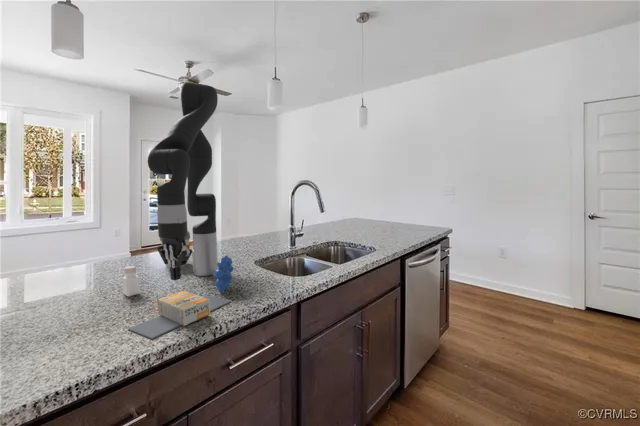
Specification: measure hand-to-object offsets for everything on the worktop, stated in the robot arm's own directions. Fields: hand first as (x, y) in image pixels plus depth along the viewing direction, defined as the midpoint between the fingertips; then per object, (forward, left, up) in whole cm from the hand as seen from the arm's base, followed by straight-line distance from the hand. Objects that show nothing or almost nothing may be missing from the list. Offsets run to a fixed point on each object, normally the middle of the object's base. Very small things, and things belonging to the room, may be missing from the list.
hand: (175, 279), depth 88 cm
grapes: (-3, +20, -10) cm, 23 cm away
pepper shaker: (-27, +2, -10) cm, 29 cm away
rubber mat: (+3, 0, -10) cm, 10 cm away
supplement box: (-3, 0, -7) cm, 8 cm away
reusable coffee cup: (-46, +33, -10) cm, 57 cm away
